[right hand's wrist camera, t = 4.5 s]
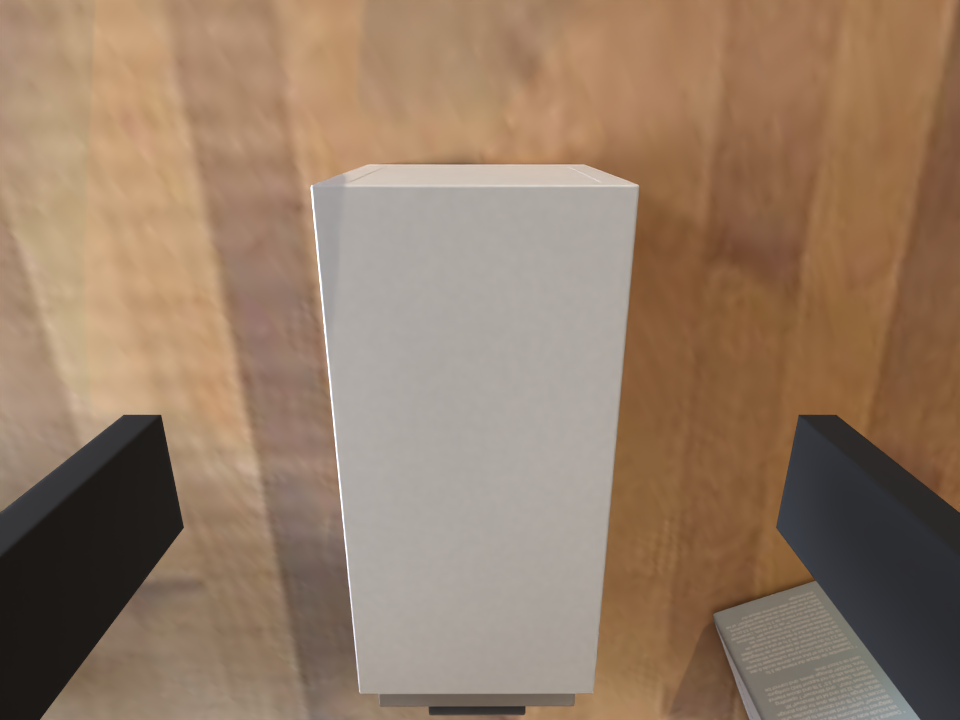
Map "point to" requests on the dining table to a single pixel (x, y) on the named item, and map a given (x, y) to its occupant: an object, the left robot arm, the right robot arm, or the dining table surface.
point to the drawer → (476, 702)
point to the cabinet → (475, 415)
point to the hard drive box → (804, 661)
